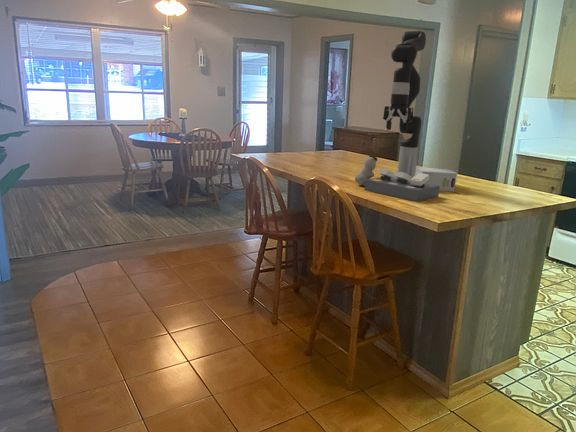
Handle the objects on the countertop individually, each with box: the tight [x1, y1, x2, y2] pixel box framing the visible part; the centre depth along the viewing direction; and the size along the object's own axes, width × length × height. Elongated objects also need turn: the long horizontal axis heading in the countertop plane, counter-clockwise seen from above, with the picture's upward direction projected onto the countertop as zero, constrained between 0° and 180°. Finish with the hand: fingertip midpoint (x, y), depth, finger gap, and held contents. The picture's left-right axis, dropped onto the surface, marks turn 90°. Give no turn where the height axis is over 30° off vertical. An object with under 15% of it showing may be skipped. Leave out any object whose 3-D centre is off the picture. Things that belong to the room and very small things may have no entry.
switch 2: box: [393, 170, 412, 181], centre depth 209 cm, size 7×5×2 cm
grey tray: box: [364, 175, 440, 203], centre depth 211 cm, size 18×28×6 cm, turn 43°
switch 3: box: [410, 173, 429, 186], centre depth 203 cm, size 7×5×2 cm
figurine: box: [354, 154, 378, 187], centre depth 224 cm, size 9×10×15 cm
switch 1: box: [377, 167, 395, 178], centre depth 216 cm, size 7×5×2 cm
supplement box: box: [415, 166, 458, 192], centre depth 226 cm, size 17×13×9 cm
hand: (396, 130), depth 206 cm, fingers open, 8 cm apart
